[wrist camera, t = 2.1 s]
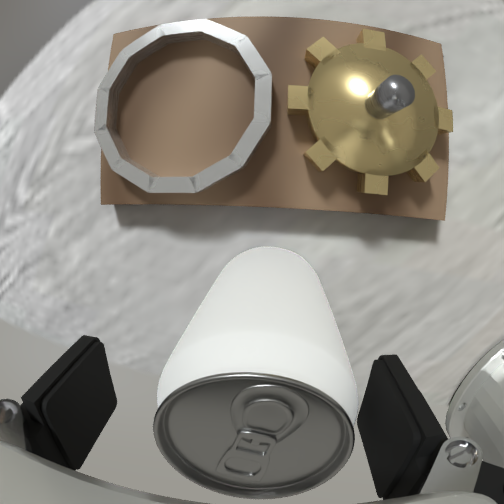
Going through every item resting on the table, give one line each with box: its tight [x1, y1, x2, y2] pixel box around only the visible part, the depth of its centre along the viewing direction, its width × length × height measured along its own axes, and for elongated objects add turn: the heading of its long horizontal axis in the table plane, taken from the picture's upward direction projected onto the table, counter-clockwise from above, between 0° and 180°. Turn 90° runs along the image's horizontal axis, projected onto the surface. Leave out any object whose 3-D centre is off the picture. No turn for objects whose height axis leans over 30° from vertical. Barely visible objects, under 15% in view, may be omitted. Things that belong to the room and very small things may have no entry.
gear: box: [287, 29, 453, 195], centre depth 12 cm, size 9×9×4 cm
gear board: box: [101, 17, 449, 221], centre depth 16 cm, size 20×11×2 cm, turn 88°
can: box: [153, 247, 358, 499], centre depth 13 cm, size 6×6×12 cm
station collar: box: [94, 19, 272, 193], centre depth 15 cm, size 10×10×1 cm
